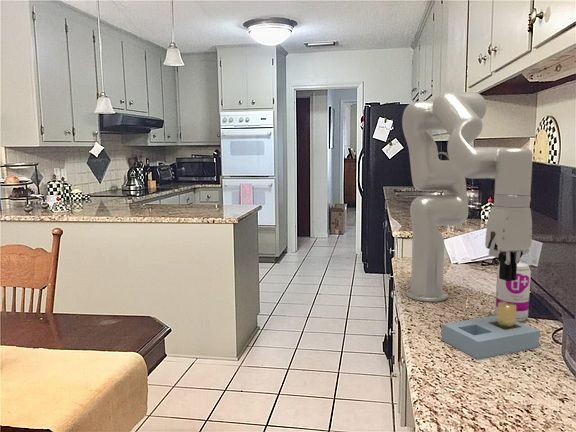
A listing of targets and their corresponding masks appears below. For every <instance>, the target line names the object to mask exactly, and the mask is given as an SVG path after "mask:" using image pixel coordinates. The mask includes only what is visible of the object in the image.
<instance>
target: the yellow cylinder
mask: <svg viewBox="0 0 576 432" xmlns="http://www.w3.org/2000/svg"><path fill="white" fill-rule="evenodd" d="M515 316H516V305H515V304H513V303H510V302H499V303H498V310H497V321H496V326H497V327H499V328H501V329H504V330H508V329H514V326H515Z"/></svg>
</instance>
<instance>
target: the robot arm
mask: <svg viewBox="0 0 576 432" xmlns="http://www.w3.org/2000/svg"><path fill="white" fill-rule="evenodd" d="M486 102H487V101H486V100H485V98H484V97H483V96H482V94H480V93H478V92H476V91H475V92H473V91H445V92H442V93H440V94H438V95H437V96H436V97H435V98H434V100H420V101H414V102H412V103H409V104H408V105H407V106H406V107H405V108H404V110H403V114H402V120H401V121H402V122H401V123H402V131H403V136H404V138H405V141H406V143H407V147H408V153H409V163H410V165H409V166H410V174H411V182H412V185H413V187H414V189H415V190H417V191H418V192H419V191H420V192H444V194H427V195H420V196H418V197H416V198H414V199H412V202H411V203H410V207H409V213H410V215H409V216H410V220H411V228H412V230H411V231H412V232H411V233H412V234H411V235H412V242H411V243H412V244H411V245H412V246H411V247H412V248H411V274H410V275H411V277H410V278H408V279H407V280H406V284H409V288H408V289H406V291H405V295H406V297H408V298H409V299H412V300H416V301H420V302H430V303H431V302H432V303H434V302H442V301H446V300H447V299H448V298H449V295H448V292H447V291H445V290H443V289H444V267H445V265H444V264H445V262H444V261H445V239H444V236H443V235H442V233H441V231H440V230H439V228H438V227H446V226H450V227H451V226H459V225H462V224H464V223H465V222H466V221H467V219H468V216H469V201H468V200H469V199H468V191H467V183H466V181H467V180H466V178H467V179H494V180H495V181H494V197H493V199H494V201H493V207H491V208H490V211H489V213H488V219H487V225H486V232H485V243H484V245H485V248H486V249H489V251H488V255H489V256H491V257H493V258H496V259H497V263H499V264H500V269H499V278H500V279H502V280H505V281H511V280H512V281H515V280H516V271H517V264H518V263H519V262H521V261H520V260H521V258H522V256H524V255H526V254H528V253H529V252H530V248H531V246H532V242H533V220H532V219H533V217H532V211H531V210H532V208H530V205H531V201H532V197H531V186H532V174H533V173H532V171H533V158H534V157H533V151H532V150H531V149H530V148H525V147H503V146H502V147H501V146H498V147H496V146H495V147H494V146H489V147H488V146H487V147H486V146H485V147H484V146H474V147H472V146H471V145H470V144H469V143H472V142H473V141H475V140H476V139H477V138H478V137H479V136H480V134H481V132H482V131H483V127H484V126H483V125H484V124H483V121H482V120H483V118H484V117H485V115H486V113H487V103H486ZM428 130H433V131H434V130H437V131H438V130H441V131H442V130H444V131H446V132H447V134H448V135H449V137H448V141H447V146H446V147H447V148H446V149H447V155H448V159H449V160H448V159H447V160H446V159H445V160H443V159H442V160H441V159H440V158H439V153H438V145H437V143H436V141H435V139H434V138H433V136H432V135H431V134H429V132H428Z"/></svg>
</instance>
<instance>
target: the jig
mask: <svg viewBox="0 0 576 432" xmlns="http://www.w3.org/2000/svg"><path fill="white" fill-rule="evenodd" d="M496 321H497V315H496V314H494V315H491V316H483V317H478V318H471V319H465V320H459V321H458V320H457V321H454V322H451V321H450V322H445V323H441V341H443V342H444V343H446V344H448V345H449V346H452V347H453V348H456V349H458V350H459V351H461V352H463V353H464V354H467V355H468V356H470V357H472V358H474V359H476V360H481V359H486V358H492V357H497V356H502V355H506V354H511V353H518V352H522V351H527V350H531V349H536V348H540V336H541V335H540V334H541V333H540V332H541V330H539V329H538V328H534V327H532V326H530V325H528V324H525V323H522V322H517V321H515V326H514V329H508V330H504V329H501V328H499V327H497V326H496Z"/></svg>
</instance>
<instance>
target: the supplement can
mask: <svg viewBox="0 0 576 432" xmlns="http://www.w3.org/2000/svg"><path fill="white" fill-rule="evenodd" d="M530 268H531V267H530V265H529V263H526V262H523V261H519V263H518V264H517V271H516V280H515V281H512V280H511V281H505V280H502V279H500V278H499V269H500V263H499V264H498V266H497V269H496V270H497V271H496V289H495V291H496V292H495V306H494V307H495V308H494V309H495V310H494V315H497V310H498V303H499V302H510V303H513V304H515V305H516V316H515V321H517V322H520V323H522V322H525V321H526V320H527V319H528V318H529V306H530V293H531V291H530V289H531V274H532V270H531V269H530Z"/></svg>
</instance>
